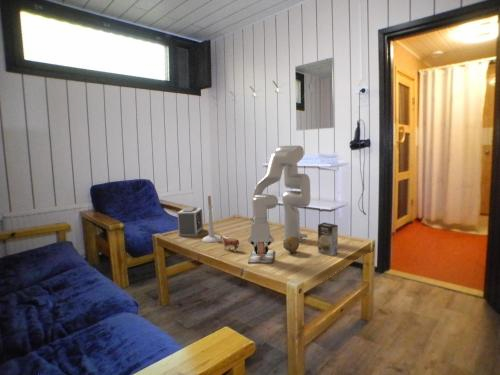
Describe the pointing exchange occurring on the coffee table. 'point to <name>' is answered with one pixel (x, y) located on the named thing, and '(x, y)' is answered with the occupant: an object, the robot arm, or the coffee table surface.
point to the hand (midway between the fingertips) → (261, 252)
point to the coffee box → (328, 238)
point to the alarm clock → (190, 221)
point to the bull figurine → (230, 242)
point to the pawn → (261, 249)
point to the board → (262, 257)
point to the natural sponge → (291, 243)
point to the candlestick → (211, 227)
